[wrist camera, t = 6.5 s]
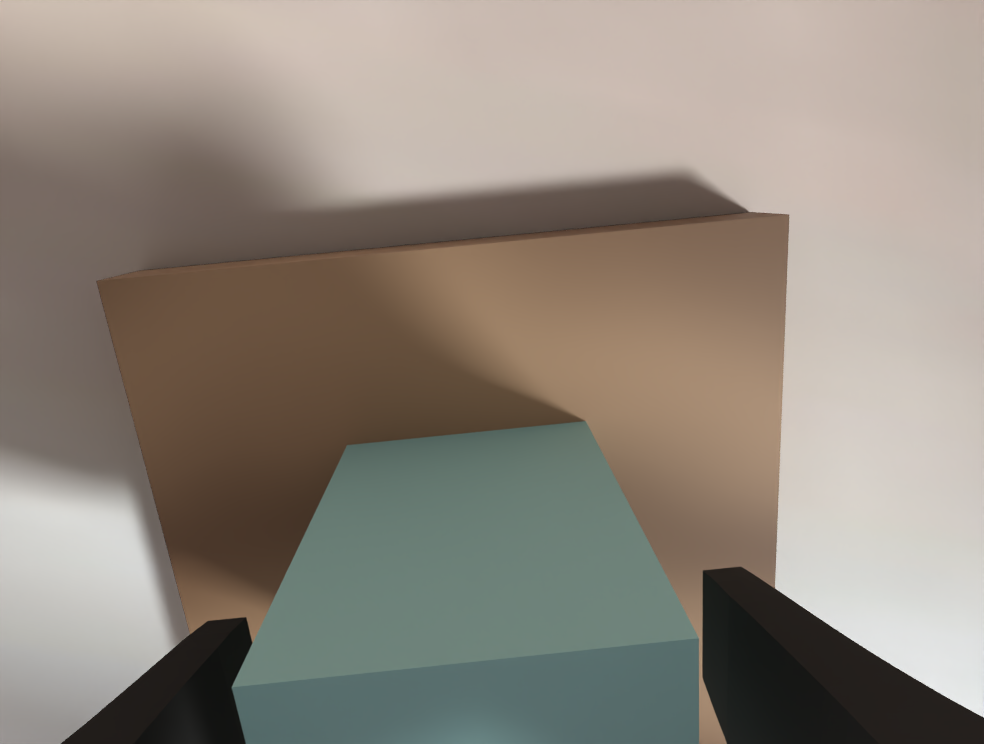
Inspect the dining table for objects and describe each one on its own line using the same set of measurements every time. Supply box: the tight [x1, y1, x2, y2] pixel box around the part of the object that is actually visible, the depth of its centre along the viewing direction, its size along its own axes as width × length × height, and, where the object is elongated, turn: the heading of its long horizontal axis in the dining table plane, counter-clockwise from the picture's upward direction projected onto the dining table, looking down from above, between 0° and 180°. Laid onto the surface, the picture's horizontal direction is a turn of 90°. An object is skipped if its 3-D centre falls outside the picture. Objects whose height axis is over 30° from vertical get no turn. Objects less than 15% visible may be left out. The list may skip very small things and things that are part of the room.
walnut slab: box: [97, 212, 789, 744], centre depth 13 cm, size 12×12×2 cm
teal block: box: [232, 421, 699, 744], centre depth 10 cm, size 4×4×6 cm
